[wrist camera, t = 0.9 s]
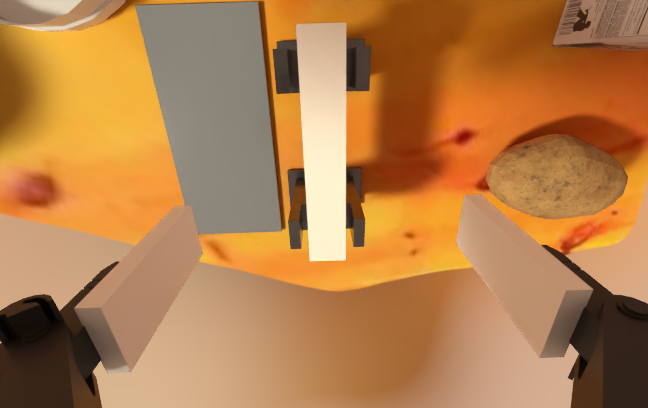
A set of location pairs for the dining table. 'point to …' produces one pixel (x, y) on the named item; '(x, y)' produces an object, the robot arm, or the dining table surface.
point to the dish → (56, 13)
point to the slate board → (216, 111)
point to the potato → (556, 177)
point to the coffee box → (604, 25)
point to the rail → (324, 135)
